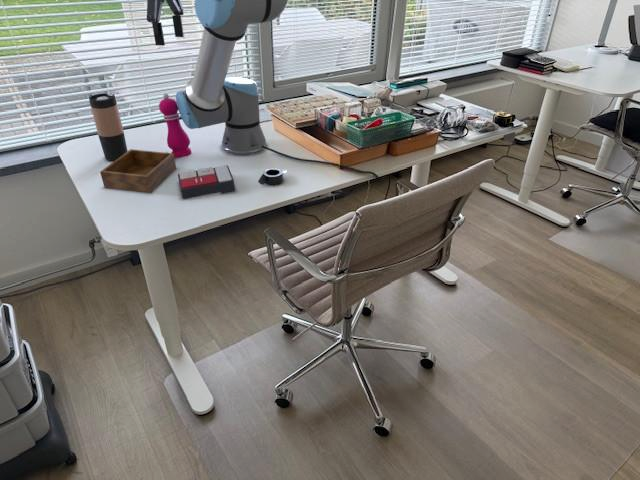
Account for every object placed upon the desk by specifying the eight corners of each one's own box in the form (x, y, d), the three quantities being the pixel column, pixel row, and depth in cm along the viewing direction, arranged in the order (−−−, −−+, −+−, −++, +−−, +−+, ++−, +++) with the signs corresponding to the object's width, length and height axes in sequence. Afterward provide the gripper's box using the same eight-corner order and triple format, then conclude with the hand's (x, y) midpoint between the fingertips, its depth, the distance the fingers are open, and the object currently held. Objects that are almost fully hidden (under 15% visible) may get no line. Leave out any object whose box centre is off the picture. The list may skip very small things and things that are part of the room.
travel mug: (106, 163, 148) (89, 102, 137) (103, 155, 153) (87, 95, 142) (131, 159, 151) (116, 98, 140) (127, 151, 156) (113, 92, 145)
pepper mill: (196, 151, 155) (180, 90, 147) (188, 157, 149) (171, 93, 140) (176, 153, 156) (159, 93, 148) (167, 159, 150) (149, 96, 141)
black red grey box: (177, 171, 136) (227, 162, 140) (180, 184, 138) (229, 175, 142) (179, 187, 127) (233, 178, 131) (183, 201, 130) (235, 191, 133)
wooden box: (176, 168, 146) (173, 153, 143) (150, 193, 132) (146, 176, 129) (134, 164, 148) (130, 149, 145) (104, 188, 134) (99, 171, 131)
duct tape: (292, 185, 138) (291, 176, 136) (259, 188, 136) (258, 179, 134) (286, 173, 144) (286, 165, 142) (254, 177, 142) (254, 168, 140)
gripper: (166, -38, 148) (176, 33, 160) (124, -33, 128) (140, 48, 140) (187, -38, 147) (196, 34, 159) (149, -32, 127) (163, 49, 139)
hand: (170, 41), depth 149 cm, fingers open, 13 cm apart
